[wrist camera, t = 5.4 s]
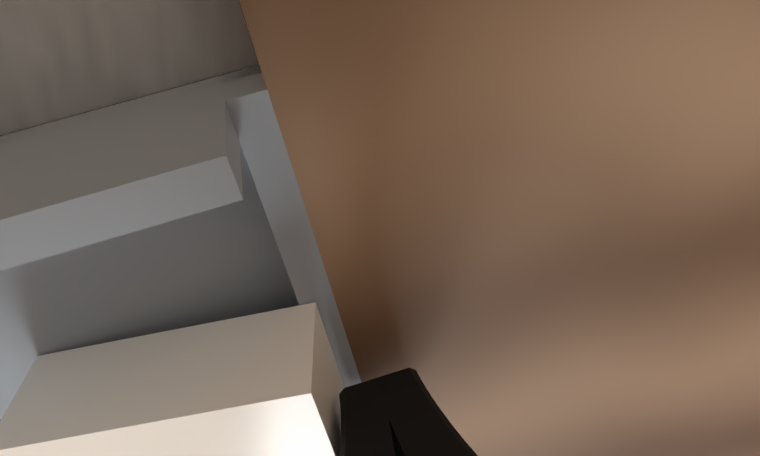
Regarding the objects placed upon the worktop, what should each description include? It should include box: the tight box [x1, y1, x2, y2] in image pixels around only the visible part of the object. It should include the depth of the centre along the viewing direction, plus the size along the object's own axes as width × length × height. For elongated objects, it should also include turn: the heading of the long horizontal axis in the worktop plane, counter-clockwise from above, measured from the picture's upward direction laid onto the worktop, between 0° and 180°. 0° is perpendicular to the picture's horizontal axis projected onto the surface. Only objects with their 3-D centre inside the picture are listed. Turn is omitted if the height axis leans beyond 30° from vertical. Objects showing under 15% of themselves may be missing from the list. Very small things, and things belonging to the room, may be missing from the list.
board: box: [239, 0, 760, 456], centre depth 13 cm, size 16×13×1 cm
